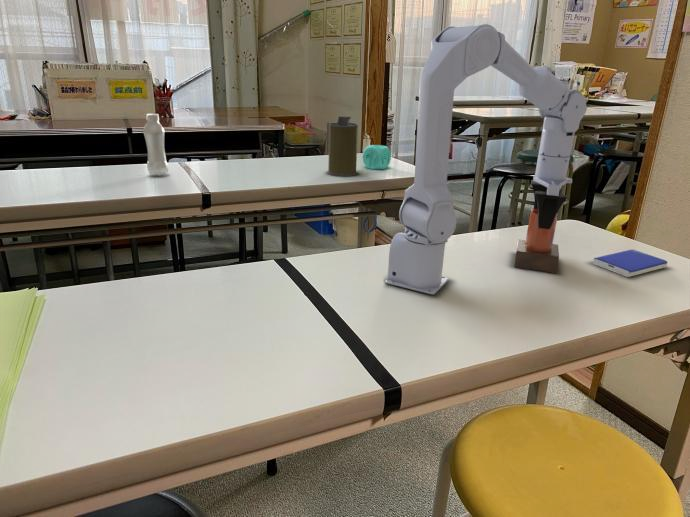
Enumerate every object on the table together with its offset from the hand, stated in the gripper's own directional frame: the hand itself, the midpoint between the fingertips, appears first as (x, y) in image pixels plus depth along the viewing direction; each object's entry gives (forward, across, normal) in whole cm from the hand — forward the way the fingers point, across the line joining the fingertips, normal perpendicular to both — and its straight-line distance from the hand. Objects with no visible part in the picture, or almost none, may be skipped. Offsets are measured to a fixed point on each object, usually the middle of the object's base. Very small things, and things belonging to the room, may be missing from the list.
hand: (542, 222), depth 103 cm
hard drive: (+9, +5, -19) cm, 22 cm away
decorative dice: (+9, +89, +51) cm, 103 cm away
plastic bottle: (+9, +45, +117) cm, 126 cm away
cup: (+5, 0, 0) cm, 5 cm away
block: (+9, 0, 0) cm, 9 cm away
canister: (+9, +73, +61) cm, 95 cm away
